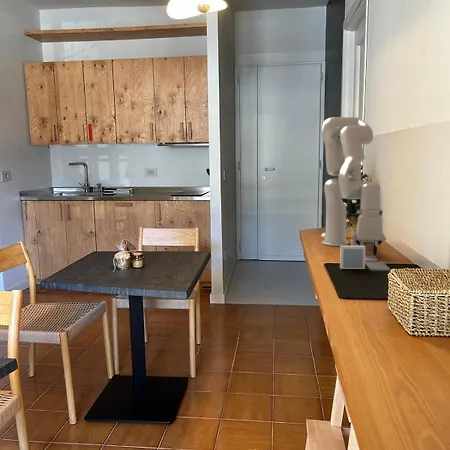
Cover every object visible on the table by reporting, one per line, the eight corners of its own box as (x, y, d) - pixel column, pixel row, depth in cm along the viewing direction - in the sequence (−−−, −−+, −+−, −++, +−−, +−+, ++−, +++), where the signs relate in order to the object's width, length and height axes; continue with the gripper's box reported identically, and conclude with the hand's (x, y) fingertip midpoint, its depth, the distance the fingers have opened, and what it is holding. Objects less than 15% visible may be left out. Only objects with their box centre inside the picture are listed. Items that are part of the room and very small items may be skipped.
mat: (364, 263, 182) (364, 261, 182) (382, 263, 181) (382, 261, 181) (371, 270, 170) (371, 269, 170) (390, 271, 169) (390, 269, 169)
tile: (339, 268, 175) (340, 245, 174) (363, 268, 174) (364, 245, 173) (340, 269, 173) (341, 246, 171) (364, 269, 172) (365, 246, 170)
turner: (361, 255, 194) (362, 241, 193) (372, 255, 193) (372, 241, 192) (366, 261, 184) (366, 246, 183) (377, 261, 183) (378, 246, 182)
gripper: (350, 214, 185) (349, 257, 189) (392, 214, 184) (390, 257, 187) (347, 211, 193) (346, 253, 196) (388, 211, 191) (386, 253, 194)
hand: (367, 255), depth 191 cm, fingers closed on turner, 4 cm apart
